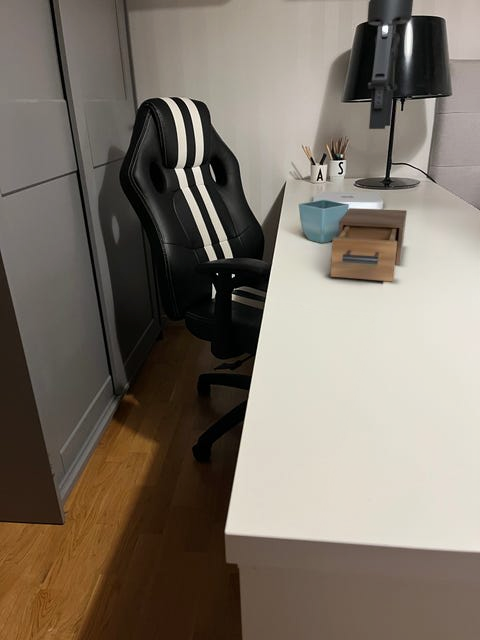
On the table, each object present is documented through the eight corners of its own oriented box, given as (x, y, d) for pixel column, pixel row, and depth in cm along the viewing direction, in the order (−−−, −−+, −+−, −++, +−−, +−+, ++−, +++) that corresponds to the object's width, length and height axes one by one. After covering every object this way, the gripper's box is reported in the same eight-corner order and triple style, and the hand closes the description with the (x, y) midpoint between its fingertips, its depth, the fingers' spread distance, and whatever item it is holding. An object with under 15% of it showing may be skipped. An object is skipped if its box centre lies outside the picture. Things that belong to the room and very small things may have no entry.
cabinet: (399, 268, 101) (404, 224, 98) (336, 264, 105) (339, 221, 102) (402, 250, 114) (406, 210, 110) (346, 246, 118) (349, 208, 114)
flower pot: (322, 246, 118) (323, 208, 115) (296, 239, 125) (297, 203, 121) (347, 240, 123) (350, 204, 119) (322, 234, 130) (323, 199, 126)
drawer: (391, 291, 87) (395, 250, 84) (325, 285, 90) (327, 245, 87) (397, 261, 103) (400, 226, 100) (341, 257, 107) (343, 223, 104)
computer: (312, 210, 159) (312, 201, 158) (315, 198, 179) (315, 191, 178) (383, 211, 156) (384, 202, 155) (378, 199, 176) (379, 191, 175)
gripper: (411, -21, 75) (396, 130, 84) (415, 7, 97) (403, 124, 105) (360, -16, 78) (351, 130, 86) (375, 10, 99) (367, 124, 107)
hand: (380, 127), depth 96 cm, fingers open, 13 cm apart
